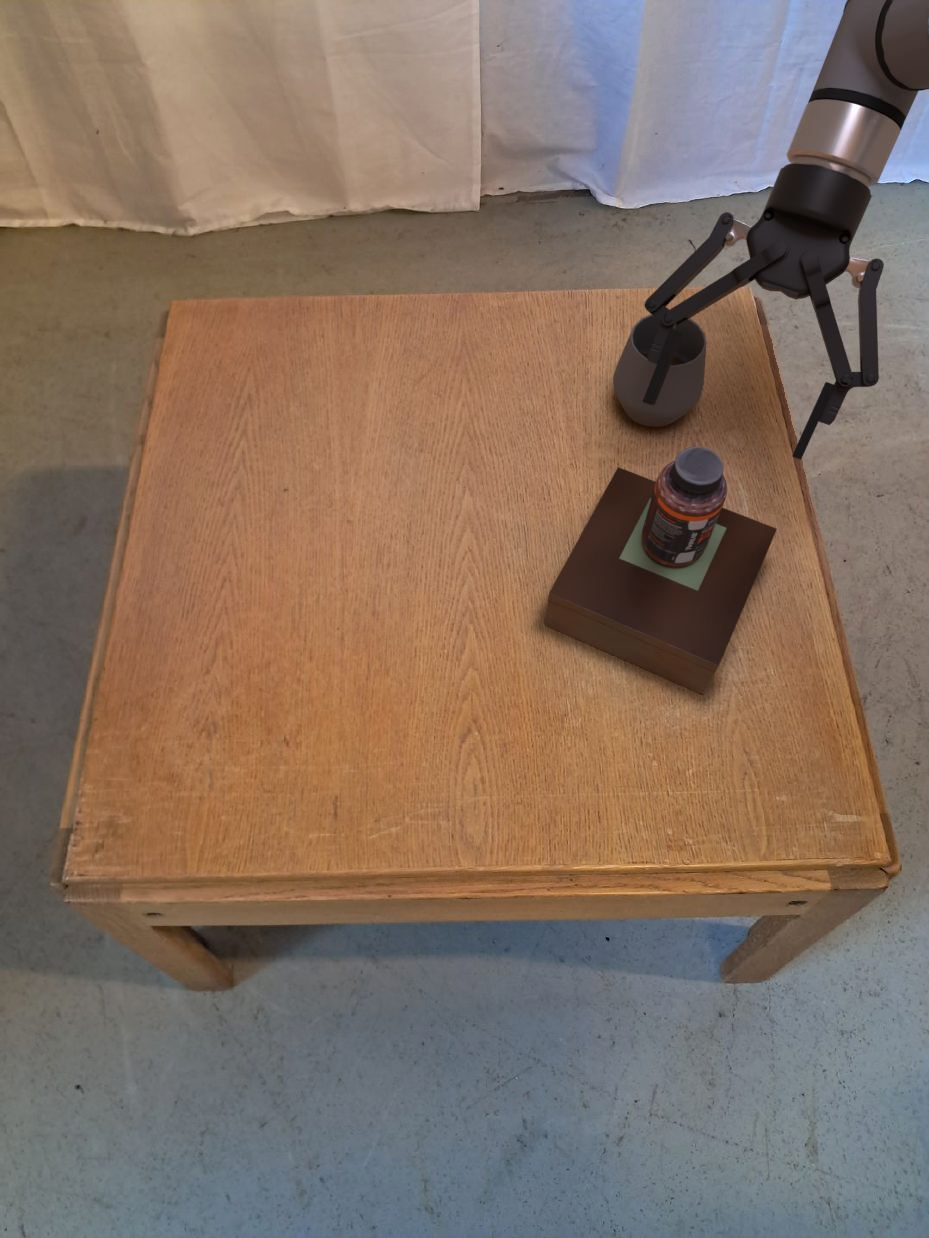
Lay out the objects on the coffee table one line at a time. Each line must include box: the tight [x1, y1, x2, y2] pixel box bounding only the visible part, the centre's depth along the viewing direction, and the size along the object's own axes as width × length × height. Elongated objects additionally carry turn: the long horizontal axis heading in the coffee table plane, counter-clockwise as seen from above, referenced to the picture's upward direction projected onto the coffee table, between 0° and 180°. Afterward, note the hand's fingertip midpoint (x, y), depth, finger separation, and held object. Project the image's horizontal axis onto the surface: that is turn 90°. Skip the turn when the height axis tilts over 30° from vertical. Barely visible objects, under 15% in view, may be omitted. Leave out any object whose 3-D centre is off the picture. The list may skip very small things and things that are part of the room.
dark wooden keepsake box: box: [544, 466, 778, 695], centre depth 86 cm, size 16×16×6 cm
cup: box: [612, 313, 708, 428], centre depth 95 cm, size 10×9×10 cm
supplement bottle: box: [642, 446, 728, 567], centre depth 79 cm, size 6×6×11 cm
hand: (720, 430), depth 80 cm, fingers open, 13 cm apart
